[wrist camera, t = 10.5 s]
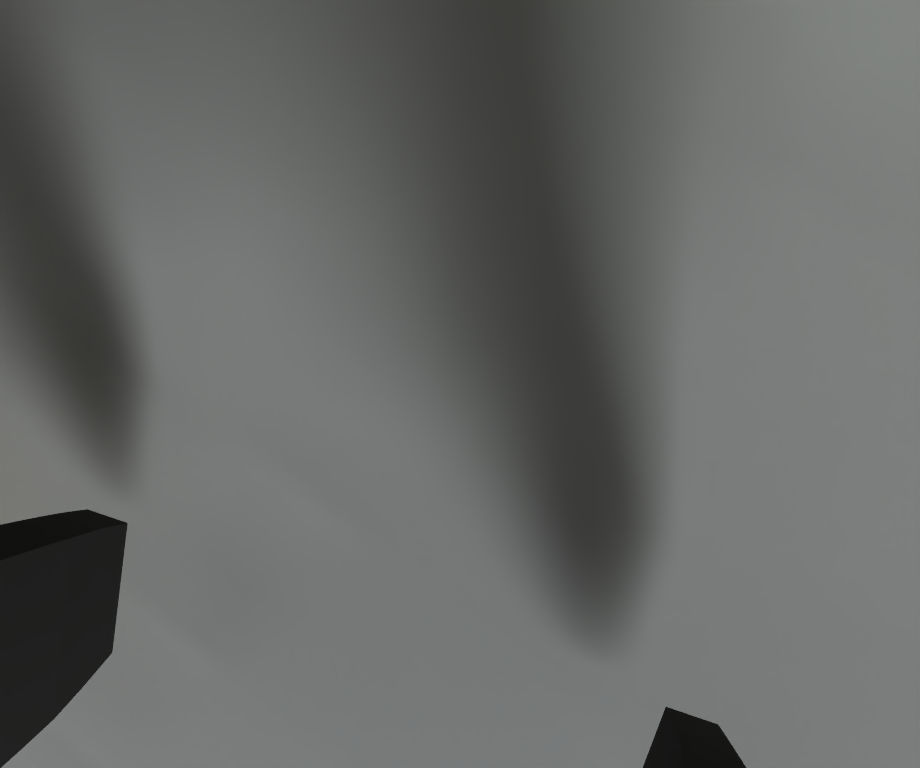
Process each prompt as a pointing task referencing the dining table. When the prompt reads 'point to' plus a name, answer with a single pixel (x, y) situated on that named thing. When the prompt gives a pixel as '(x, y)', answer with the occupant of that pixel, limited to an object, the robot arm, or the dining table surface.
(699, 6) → the dining table surface
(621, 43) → the dining table surface
